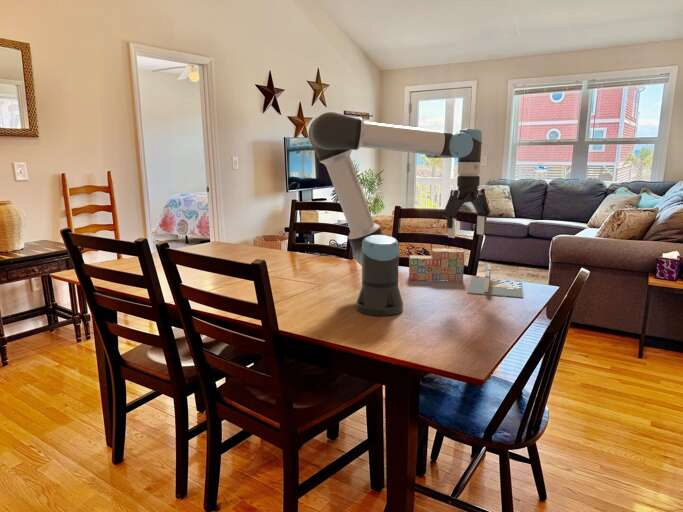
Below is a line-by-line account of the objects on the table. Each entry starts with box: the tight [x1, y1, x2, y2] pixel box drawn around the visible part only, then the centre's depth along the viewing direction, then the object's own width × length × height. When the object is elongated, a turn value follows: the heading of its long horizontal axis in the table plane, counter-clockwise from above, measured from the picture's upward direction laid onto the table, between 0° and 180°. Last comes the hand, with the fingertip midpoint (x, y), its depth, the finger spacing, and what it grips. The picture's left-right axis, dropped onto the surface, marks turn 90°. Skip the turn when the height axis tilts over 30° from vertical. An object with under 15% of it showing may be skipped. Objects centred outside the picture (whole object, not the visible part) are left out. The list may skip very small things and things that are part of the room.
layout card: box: [466, 277, 524, 299], centre depth 180 cm, size 23×19×1 cm
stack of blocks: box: [408, 248, 465, 282], centre depth 193 cm, size 21×6×12 cm, turn 85°
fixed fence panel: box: [486, 263, 492, 270], centre depth 187 cm, size 9×1×7 cm, turn 161°
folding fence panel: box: [484, 268, 492, 292], centre depth 177 cm, size 11×2×6 cm, turn 161°
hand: (465, 235), depth 169 cm, fingers open, 13 cm apart
